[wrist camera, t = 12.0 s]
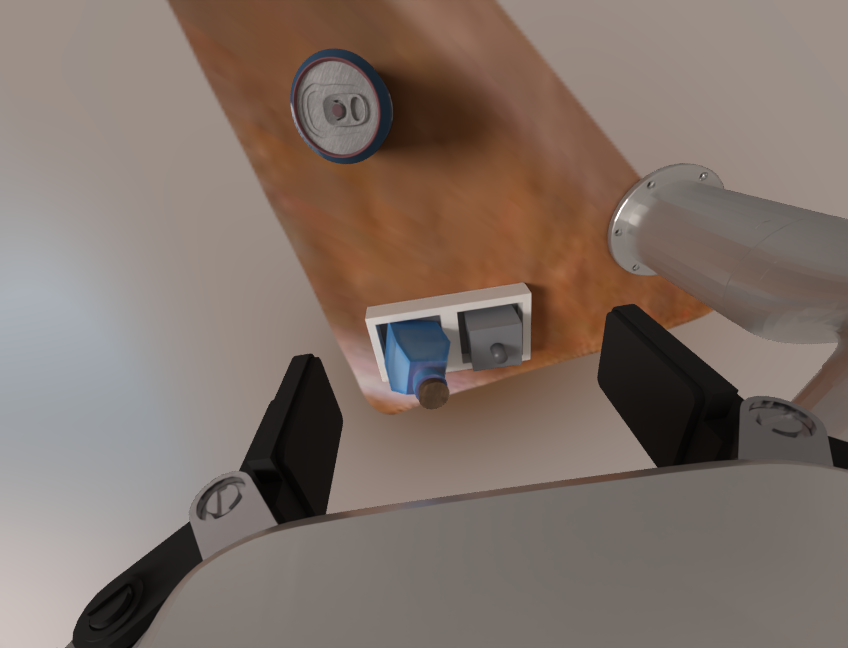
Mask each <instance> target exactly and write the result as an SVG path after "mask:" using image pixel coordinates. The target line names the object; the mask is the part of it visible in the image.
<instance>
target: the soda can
mask: <svg viewBox="0 0 848 648" xmlns="http://www.w3.org/2000/svg"><path fill="white" fill-rule="evenodd" d="M291 110H292V115H293V119H294V122H295V125H296V127H297V129H298V131H299V133H300V135H301V137H302V138H303V140H304V141H305V142H306V143H307V145H308V146H309V147H310V148H311V149H312V150H313V151H314V152H316V153H317V154H318V155H320V156H321V157H323V158H325V159H327V160H329V161H332V162H335V163H340V164H353V163H357V162H360V161H363V160H365V159H367V158H369V157H370V156H371V155H373V154H374V153H375V152H376V151H377V150H378V149H379V147H380V146H381V144H382V143H383V141H384V140H385V138H386V137H387V135H388V133H389V131H390V129H391V126H392V121H393V103H392V99H391V96H390V93H389V91H388V88H387V87H386V85H385V83H384V82H383V80H382V79H381V78H380V76H379V75H378V73H377V72H376V71H375V70H374V68H373V67H372V66H371V65H370V64H369V63H368V62H367V61H365V60H364V59H363V58H361V57H360V56H358V55H357V54H354V53H352V52H350V51H347V50H342V49H326V50H322V51H319V52H317V53H315V54H313V55H312V56H310V57H309V58H308V59H307V60H306V61H305V62H304V63H303V64H302V65H301V66H300V68H299V69H298V71H297V73H296V75H295V77H294V80H293V84H292V88H291Z"/></svg>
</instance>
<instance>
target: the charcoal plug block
mask: <svg viewBox="0 0 848 648" xmlns="http://www.w3.org/2000/svg"><path fill="white" fill-rule="evenodd" d="M464 321H465V331H466V340H467V349H468V353H469V356H470V360H471V364H472V367H473V371H479V370H486V369H493V368H499V367H506V366H513V365H519V364H522V322H521V321H520V319H519V317H518V315H517V313H516V312H515V310H514V308H513V306H512V304H506V305H499V306H493V307H487V308H480V309H474V310H467V311H464Z"/></svg>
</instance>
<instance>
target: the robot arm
mask: <svg viewBox="0 0 848 648" xmlns="http://www.w3.org/2000/svg"><path fill="white" fill-rule="evenodd" d="M608 246H609V251H610V253H611V255H612V257H613V259H614V260H615V261H616V262H617V264H618V265H619V266H621V267H622V268H624V269H625V270H626V271H628V272H630V273H633V274H637V275H641V276H653V275H660V276H662V277H664V278H665V279H667V280H668V281H670V282H671V283H673V284H674V285H676V286H678V287H679V288H681V289H682V290H684V291H685V292H687V293H688V294H690V295H692V296H693V297H695V298H696V299H698V300H699V301H701V302H703V303H704V304H706V305H707V306H709V307H710V308H712V309H713V310H715V311H717V312H718V313H720V314H721V315H723V316H724V317H726V318H727V319H729V320H731V321H732V322H734V323H736V324H737V325H739V326H741V327H742V328H744V329H745V330H747V331H749V332H750V333H753V334H754V335H757V336H759V337H762V338H765V339H768V340H772V341H777V342H783V343H794V344H818V343H834V342H838V346H837V348H836V350H835V351H834V352H833V354H832V355H831V356H830V357H829V358H828V360H827V361H826V362H825V363H824V364H823V366H822V368H821V369H820V370H819V372H818V373H817V374H816V375H815V376H814V377H813V378H812V379H811V380H810V381H809V382H808V383H807V384H806V386H805V387H804V388H803V389H802V390H801V391H800V392H799V393H798V394H797V395H796V396H795V397H794V399H793V400H792V401H791V402H789V401H786V400H783V399H780V398H775V397H769V396H755V397H750V398H747V399H746V400H744V399H743V398H741V397H740V396H739V395H738V394H737V392H738V389H736V388H735V387H734V386H733V385H732V384H730V383H729V382H728V381H727V380H726V379H724V378H723V377H722V376H721V375H720V374H718V373H717V372H716V371H715V370H714V369H712V368H711V367H710V366H709V365H708V364H706V363H705V362H704V361H703V360H702V359H700V358H699V357H698V356H697V355H696V354H694V353H693V352H692V351H691V350H690V349H688V348H687V347H686V346H685V345H683V344H682V343H681V342H680V341H679V340H678V339H676V338H675V337H674V336H673V335H672V334H670V333H669V332H668V331H667V330H666V329H664V328H663V327H662V326H661V325H660V324H658V323H657V322H656V321H655V320H654V319H652V318H651V317H650V316H649V315H648V314H646V313H645V312H644V311H643V310H642V309H640V308H639V307H638V306H637V305H635V304H629V305H623V306H616V307H614V308H613V309H612V311H611V312H609V313H608V314H607V316H606V322H605V329H604V336H603V342H602V349H601V356H600V363H599V369H598V377H597V378H598V383H599V385H600V388H601V389H602V390H603V392H604V393H605V395H606V396H607V398H608V399H609V400H610V402H611V403H612V405H613V406H614V407H615V409H616V410H617V412H618V413H619V414H620V416H621V417H622V419H623V420H624V421H625V423H626V424H627V425H628V427H629V428H630V430H631V431H632V433H633V434H634V435H635V437H636V438H637V440H638V441H639V442H640V444H641V445H642V447H643V448H644V449H645V451H646V452H647V454H648V455H649V456H650V458H651V459H652V461H653V462H654V463H655V465H656V466H657V468H652V469H644V470H636V471H630V472H622V473H614V474H606V475H599V476H591V477H584V478H576V479H569V480H561V481H554V482H547V483H539V484H532V485H525V486H518V487H510V488H503V489H496V490H489V491H482V492H474V493H467V494H460V495H453V496H446V497H440V498H432V499H425V500H419V501H411V502H405V503H397V504H390V505H383V506H377V507H371V508H364V509H358V510H351V511H345V512H339V513H333V514H326V510H327V505H328V499H329V494H330V489H331V484H332V479H333V473H334V468H335V463H336V458H337V453H338V447H339V442H340V437H341V431H342V426H343V418H342V414H341V411H340V408H339V406H338V403H337V401H336V398H335V396H334V393H333V390H332V388H331V386H330V383H329V380H328V377H327V375H326V372H325V370H324V367H323V364H322V362H321V360H320V358H319V357H314V355H313V354H305V355H299V356H294V357H293V358H292V361H291V363H290V365H289V367H288V369H287V372H286V374H285V376H284V378H283V381H282V383H281V385H280V387H279V390H278V392H277V394H276V396H275V399H274V400H272V401H271V403H270V404H269V406H268V408H267V410H266V413H265V415H264V417H263V419H262V422H261V424H260V426H259V428H258V430H257V432H256V435H255V437H254V439H253V441H252V444H251V446H250V448H249V450H248V452H247V454H246V457H245V459H244V461H243V463H242V465H241V468H240V470H239V471H232V472H229V473H226V474H223V475H221V476H219V477H217V478H215V479H213V480H212V481H211V482H210V483H208V484H207V485H206V486H205V487H204V488H203V489H202V490H201V491H200V492H199V493H198V494H197V496H196V497H195V499H194V500H193V502H192V504H191V507H190V510H189V520H190V521H189V522H188V523H187V524H186V525H185V526H183V527H182V528H181V529H179V530H178V531H176V532H175V533H174V534H173V535H171V536H170V537H169V538H167V539H166V540H165V541H164V542H162V543H161V544H160V545H158V546H157V547H156V548H154V549H153V550H152V551H150V552H149V553H148V554H147V555H145V556H144V557H143V558H142V559H140V560H139V561H137V562H136V563H135V564H133V565H132V566H131V567H130V568H129V569H127V570H126V571H124V572H123V573H122V574H120V575H119V576H118V577H116V578H115V579H114V580H113V581H111V582H110V583H109V584H108V585H107V586H106V587H104V588H103V589H102V590H101V591H100V592H99V593H97V595H96V596H95V597H94V598H93V599H92V600H91V602H90V603H89V604H88V605H87V606H86V608H85V609H84V611H83V613H82V614H81V616H80V617H79V619H78V621H77V624H76V626H75V629H74V631H73V640H72V641H71V642H70V643H69V644H68V645H67V646H66V647H65V648H848V219H845V218H841V217H837V216H831V215H827V214H823V213H819V212H815V211H811V210H807V209H803V208H799V207H795V206H791V205H786V204H782V203H778V202H774V201H770V200H766V199H762V198H758V197H754V196H749V195H746V194H742V193H738V192H733V191H730V190H725V189H724V186H723V183H722V182H721V180H720V179H719V177H718V176H717V175H716V174H715V173H714V172H713V171H712V170H710V169H708V168H705V167H703V166H700V165H695V164H683V163H680V164H674V165H669V166H666V167H663V168H660V169H658V170H656V171H654V172H652V173H650V174H649V175H647V176H645V177H644V178H643V179H641V180H640V181H639V182H637V183H636V184H635V185H634V186H633V187H632V188H631V189H630V190H629V191H628V192H627V193H626V194H625V196H624V197H623V198H622V200H621V201H620V202H619V204H618V206H617V208H616V209H615V211H614V213H613V216H612V218H611V221H610V224H609V229H608Z"/></svg>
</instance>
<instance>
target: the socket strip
mask: <svg viewBox="0 0 848 648" xmlns="http://www.w3.org/2000/svg"><path fill="white" fill-rule="evenodd" d="M506 304H512V306H513V308H514V310H515V312H516V313H517V315H518V317H519V319H520V321H521V322H522V361H524V360H530V353H531V292H530V290H529V289H528V288H527V286H526V285H525V283H524V282H523V283H517V284H511V285H504V286H498V287H492V288H485V289H479V290H473V291H466V292H460V293H454V294H447V295H441V296H435V297H428V298H422V299H416V300H409V301H403V302H397V303H390V304H384V305H378V306H371V307H367V312H366V317H365V320H366V324H367V327H368V331H369V335H370V338H371V342H372V345H373V349H374V352H375V356H376V360H377V363H378V367H379V370H380V374H381V378H382V381H383V382H385V381H389V379H388V375H387V372H386V368H385V364H384V362H385V350H386V339H387V327H388V323H390V322H397V321H403V320H418V321H436V322H437V323H438V324H439V326H440V327H441V329H442V330H443V332H444V333H445V335H446V336H447V337H448V339H449V340H450V342H451V343H450V349H449V355H448V361H447V368H446V372H451V371H458V370H464V369H471V368H473V367H472V364H471V360H470V356H469V353H468V349H467V340H466V331H465V321H464V311H467V310H474V309H480V308H487V307H493V306H499V305H506Z"/></svg>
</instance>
